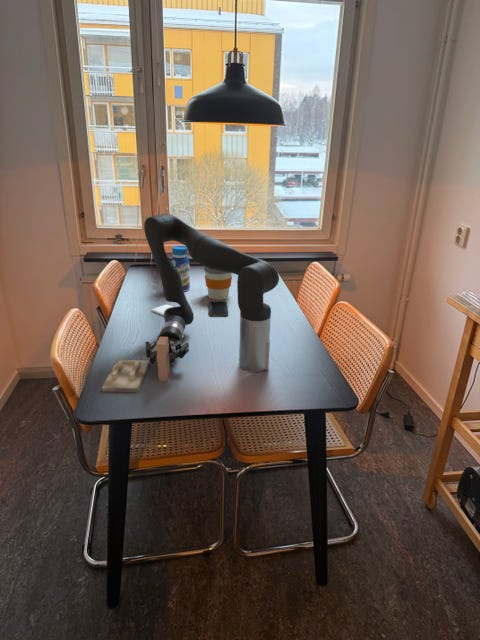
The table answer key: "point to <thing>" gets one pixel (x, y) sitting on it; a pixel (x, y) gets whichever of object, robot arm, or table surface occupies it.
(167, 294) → the robot arm
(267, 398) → the table surface
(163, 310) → the external hard drive
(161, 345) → the block
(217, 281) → the reusable coffee cup
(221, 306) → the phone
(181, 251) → the beverage bottle
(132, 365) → the plate
